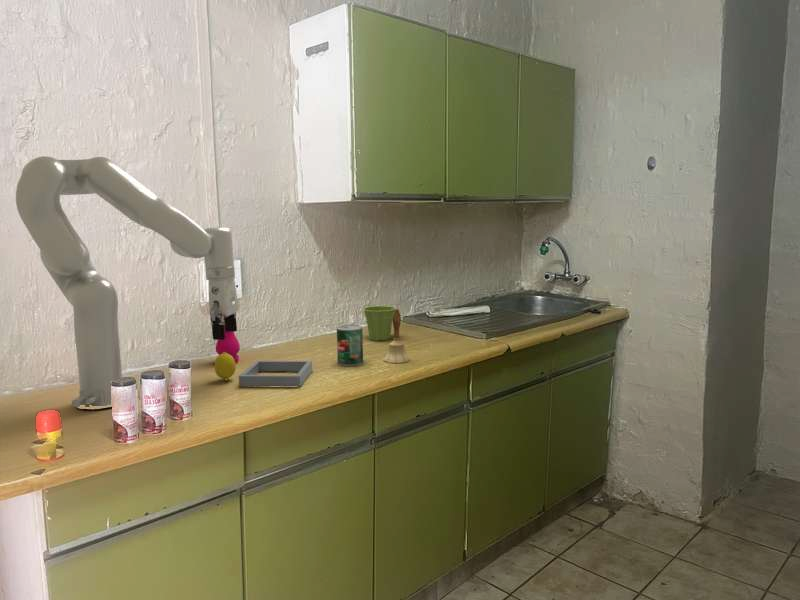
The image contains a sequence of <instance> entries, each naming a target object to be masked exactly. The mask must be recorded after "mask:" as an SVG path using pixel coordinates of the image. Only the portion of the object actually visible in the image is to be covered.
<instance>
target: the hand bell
mask: <svg viewBox="0 0 800 600" xmlns="http://www.w3.org/2000/svg"><path fill="white" fill-rule="evenodd" d="M401 318H402V316H401V313H400V310H399V309H398V308H396V309H395V310H394V314H393V319H392V327H393V341H391V342H390V343H389V345H388V350H387V354H386V355H385V356H384V358H383V362H384V363H387V364H403V363H408V362H410V361H411V358H410V357H409V356H408V355H407V353H406V350H405V349H406V348H405V345H404V342H402V341H400V327H401V324H402V319H401Z"/></svg>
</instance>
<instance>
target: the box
mask: <svg viewBox="0 0 800 600" xmlns="http://www.w3.org/2000/svg"><path fill="white" fill-rule="evenodd" d="M259 371H289V372H288V373H296V374H259V373H260V372H259ZM290 371H291V372H290ZM258 372H259V373H258ZM312 372H313V360H255V361H254V362H253V363H252V364H251V365H250V366H248V367H247V369H245V370H244V371H243V372H242V373H240V374H239V376H238V385H239V386H301V385H302V386H303V384H304V383H305V382H304V381H306V380H307V379H308V377H309V376H310V375H311V374H312ZM257 373H258V374H257ZM256 374H257V375H256ZM306 378H307V379H306ZM303 382H304V383H303ZM239 386H238V387H239ZM302 386H301V387H302Z"/></svg>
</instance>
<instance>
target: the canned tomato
mask: <svg viewBox="0 0 800 600" xmlns="http://www.w3.org/2000/svg"><path fill="white" fill-rule="evenodd" d="M363 334H364V333H363V326H362V325H359V324H344V325H338V326H337V327H336V347H337V348H336V349H337V350H336V351H337V364H338V365H340V366H344V367H346V366H347V367H348V366H349V367H350V366H351V367H352V366H359V365H362V364H363V363H364V340H363Z"/></svg>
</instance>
